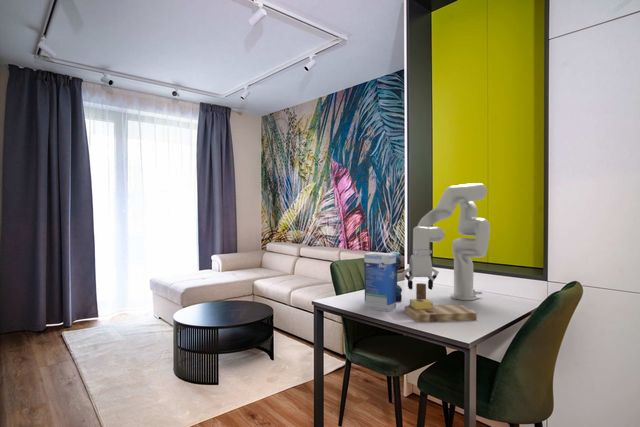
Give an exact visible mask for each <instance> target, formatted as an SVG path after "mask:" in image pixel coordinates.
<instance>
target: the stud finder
mask: <svg viewBox="0 0 640 427" xmlns="http://www.w3.org/2000/svg"><path fill="white" fill-rule="evenodd" d="M411 299H412V300H411V305H410V306H412V307H413V308H415V309H431V302H432V301H431V300H429V299H427V298H426V299H416V298H414V299H413V298H411Z"/></svg>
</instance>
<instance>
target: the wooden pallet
mask: <svg viewBox="0 0 640 427" xmlns="http://www.w3.org/2000/svg"><path fill="white" fill-rule="evenodd" d="M404 313H406V314H407V315H408V316H409V317H411V318H412V319H413V320H414V321H415V323H429V322H430V323H436V322H437V323H438V322H462V321H477V318H478V317H477V315H478V314H477V313H478V312H475V311H473V310H472V309H470V308H467V307H465V306H464V305H461V304H433V305H431V309H415V308H413V307H412V306H411V305H404Z"/></svg>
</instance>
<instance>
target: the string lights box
mask: <svg viewBox="0 0 640 427" xmlns="http://www.w3.org/2000/svg"><path fill="white" fill-rule="evenodd" d="M363 255H364V256H363V258H364V264H363V265H364V269H363V270H364V309H367V310H368V309H370V310H375V311H380V312H392V311H394V310H396V309H397V302H396V254H391V253H389V252H388V253H387V252H386V253H385V252H372V251H370V252H365V253H364V254H363Z"/></svg>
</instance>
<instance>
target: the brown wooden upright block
mask: <svg viewBox="0 0 640 427" xmlns="http://www.w3.org/2000/svg"><path fill="white" fill-rule="evenodd" d="M415 290H416V292H415V296H416V297H415V299H427V283H423V282H422V283H421V282H419V283H416V288H415Z"/></svg>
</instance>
